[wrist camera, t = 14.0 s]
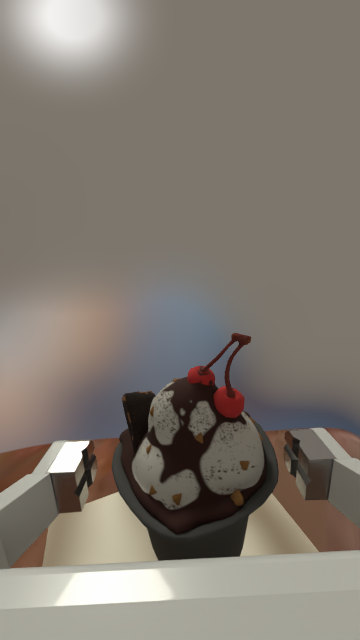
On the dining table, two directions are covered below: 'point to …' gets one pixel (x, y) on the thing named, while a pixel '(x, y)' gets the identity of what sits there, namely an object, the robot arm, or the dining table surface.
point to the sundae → (194, 464)
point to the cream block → (134, 542)
